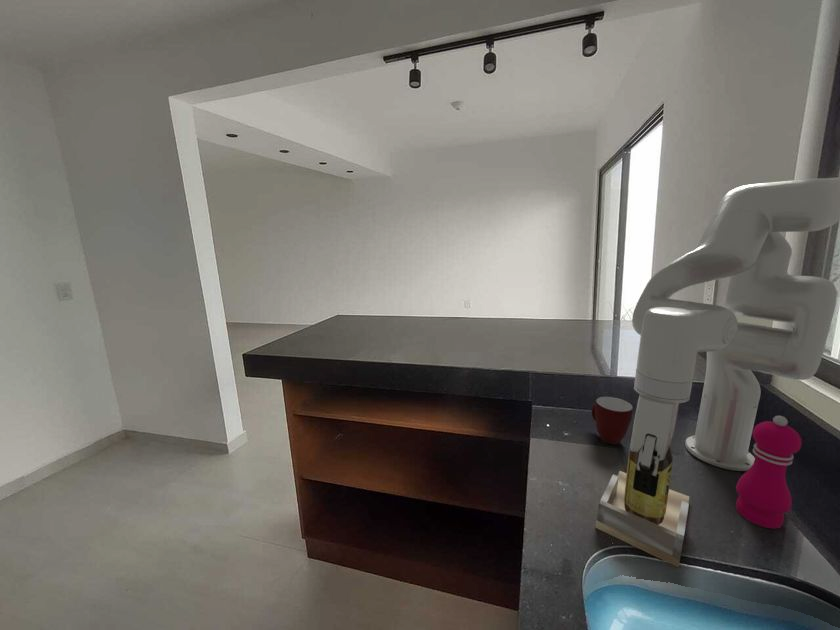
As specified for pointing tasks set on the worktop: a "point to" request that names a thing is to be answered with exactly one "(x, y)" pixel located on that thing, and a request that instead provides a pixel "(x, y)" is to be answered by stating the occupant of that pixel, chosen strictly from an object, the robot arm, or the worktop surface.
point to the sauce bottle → (642, 502)
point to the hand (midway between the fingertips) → (647, 480)
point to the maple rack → (644, 522)
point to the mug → (612, 418)
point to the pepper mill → (768, 474)
